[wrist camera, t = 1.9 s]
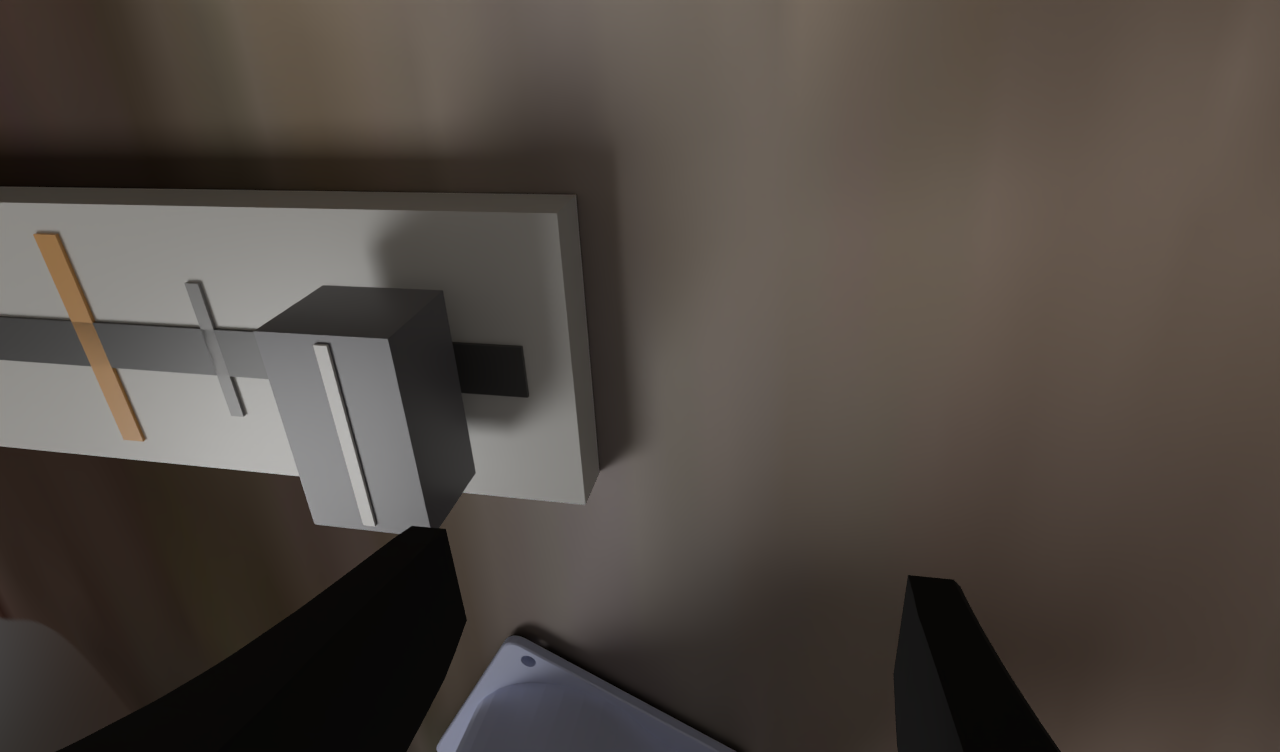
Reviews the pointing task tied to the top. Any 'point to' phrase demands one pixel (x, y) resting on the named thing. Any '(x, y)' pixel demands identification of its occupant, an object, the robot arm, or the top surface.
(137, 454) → the fader board
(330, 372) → the fader knob
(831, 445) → the top surface
